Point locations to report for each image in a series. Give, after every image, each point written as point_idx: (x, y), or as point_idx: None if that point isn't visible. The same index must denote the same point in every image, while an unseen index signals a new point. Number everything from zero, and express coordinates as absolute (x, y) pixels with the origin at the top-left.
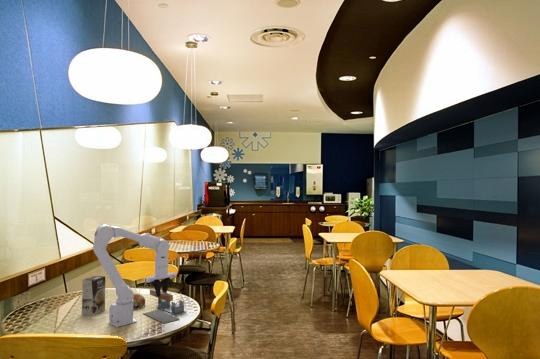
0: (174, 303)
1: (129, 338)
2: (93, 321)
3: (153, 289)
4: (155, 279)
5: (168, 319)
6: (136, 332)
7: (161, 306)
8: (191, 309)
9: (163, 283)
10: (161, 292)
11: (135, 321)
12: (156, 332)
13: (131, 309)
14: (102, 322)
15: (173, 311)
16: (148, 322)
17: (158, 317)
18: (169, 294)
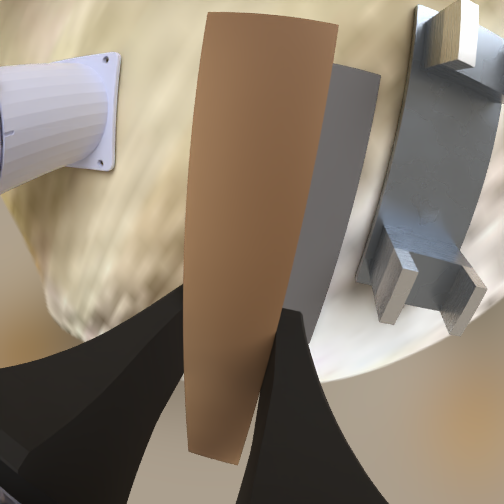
0: (382, 310)
1: (47, 297)
2: (20, 9)
3: (253, 84)
4: (11, 499)
5: None
6: (73, 279)
7: (425, 69)
8: (495, 277)
9: (244, 485)
10: (218, 364)
11: (101, 170)
12: None
13: (28, 180)
14: (27, 43)
15: (376, 258)
16: (158, 226)
17: None
18: (229, 447)
